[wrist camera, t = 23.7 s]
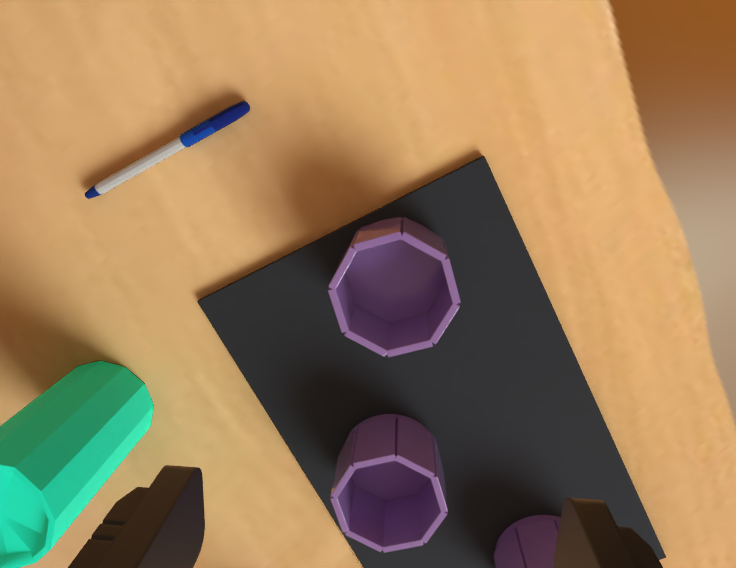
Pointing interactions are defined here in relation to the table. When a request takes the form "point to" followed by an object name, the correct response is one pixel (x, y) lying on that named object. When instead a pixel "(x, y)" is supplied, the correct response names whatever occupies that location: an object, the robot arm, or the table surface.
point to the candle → (65, 454)
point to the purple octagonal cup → (389, 484)
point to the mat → (436, 378)
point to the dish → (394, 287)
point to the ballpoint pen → (171, 148)
